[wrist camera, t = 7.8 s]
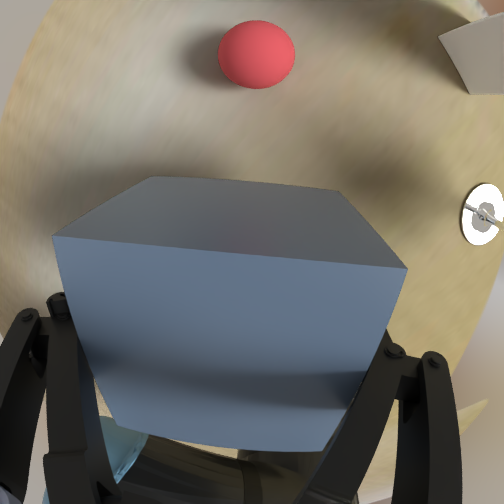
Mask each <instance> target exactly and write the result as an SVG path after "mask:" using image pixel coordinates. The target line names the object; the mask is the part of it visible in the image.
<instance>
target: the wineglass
mask: <svg viewBox="0 0 504 504" xmlns="http://www.w3.org/2000/svg"><path fill="white" fill-rule="evenodd" d="M503 215H504V203H503V198H502V195H501V193H500V191H499V190H498V189H497V188H496V187H495V186H493V185H491V184H487V183H485V184H481V185H478V186H477V187H475V188H474V189H473V190H472V191H471V192H470V194H469V195H468V197H467V199H466V201H465V203H464V206H463V210H462V215H461V226H462V231H463V234H464V236H465V238H466V239H467V240H468V241H469V242H470V243H471V244H473V245H483V244H486V243H487V242H489V241H490V240H491V239H492V238H493V237H494V236H495V235H496V233H497V232H498V230H501V231H503V232H504V222H502V220H503Z"/></svg>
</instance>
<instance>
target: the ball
mask: <svg viewBox="0 0 504 504" xmlns="http://www.w3.org/2000/svg"><path fill="white" fill-rule="evenodd" d="M294 59H295V50H294V46H293V43H292V41H291V39H290V37H289V36H288V35H287V34H286V32H285V31H283V30H282V29H281V28H279V27H278V26H276V25H274V24H272V23H269V22H265V21H247V22H243V23H240V24H238V25H236V26H235V27H233V28H232V29H230V30H229V31H228V32H227V33H226V34H225V35H224V37H223V38H222V40H221V42H220V45H219V49H218V61H219V64H220V67H221V69H222V71H223V72H224V74H225V75H226V76H227V77H228V78H229V79H230V80H231V81H233V82H234V83H236V84H238V85H240V86H243V87H246V88H251V89H262V88H267V87H271V86H273V85H275V84H277V83H279V82H280V81H282V80H283V79H284V78H285V77H286V76H287V75H288V74H289V72H290V71H291V69H292V67H293V64H294Z"/></svg>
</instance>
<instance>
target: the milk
mask: <svg viewBox="0 0 504 504" xmlns="http://www.w3.org/2000/svg"><path fill="white" fill-rule="evenodd" d="M438 38H439V40H440V41H441V43H442V45H443V46H444V48H445V49H446V51H447V53H448V54H449V56H450V58H451V60H452V61H453V63H454V65H455V67H456V68H457V70H458V72H459V74H460V76H461V78H462V80H463V82H464V84H465V86H466V88H467V90H468V92H469V94H470V95H504V12H502V13H499V14H496V15H492V16H489V17H486V18H483V19H480V20H477V21H474V22H471V23H469V24H466V25H463V26H461V27H459V28H456V29H454V30H451V31H449V32H447V33H444V34H442V35H440V36H438Z"/></svg>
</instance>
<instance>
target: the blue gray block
mask: <svg viewBox="0 0 504 504" xmlns="http://www.w3.org/2000/svg"><path fill="white" fill-rule="evenodd" d="M52 239H53V244H54V249H55V254H56V259H57V263H58V268H59V272H60V276H61V280H62V284H63V288H64V292H65V295H66V299H67V302H68V306H69V309H70V313H71V316H72V319H73V322H74V325H75V328H76V331H77V334H78V337H79V340H80V343H81V345H82V348H83V351H84V353H85V356H86V359H87V361H88V364H89V366H90V369H91V371H92V373H93V376H94V378H95V380H96V383H97V385H98V387H99V389H100V392H101V394H102V396H103V398H104V400H105V402H106V404H107V406H108V408H109V410H110V412H111V414H112V416H113V418H114V420H115V422H116V424H117V426H121V427H124V428H128V429H131V430H135V431H139V432H143V433H147V434H151V435H155V436H159V437H164V438H169V439H174V440H179V441H184V442H190V443H196V444H202V445H209V446H216V447H224V448H234V449H244V450H258V451H281V452H313V451H322V450H323V449H324V447H325V446H326V444H327V442H328V441H329V439H330V438H331V436H332V434H333V433H334V431H335V429H336V428H337V426H338V424H339V423H340V421H341V419H342V417H343V416H344V414H345V412H346V410H347V409H348V407H349V405H350V403H351V401H352V399H353V398H354V396H355V394H356V392H357V390H358V388H359V386H360V384H361V382H362V380H363V378H364V376H365V374H366V372H367V370H368V368H369V366H370V364H371V362H372V359H373V357H374V355H375V353H376V351H377V348H378V346H379V344H380V342H381V339H382V337H383V335H384V332H385V330H386V327H387V325H388V323H389V320H390V318H391V315H392V312H393V310H394V307H395V305H396V302H397V299H398V296H399V294H400V291H401V288H402V285H403V282H404V279H405V276H406V273H407V270H408V269H407V267H406V266H405V265H404V264H403V262H402V261H401V260H400V259H399V258H398V256H397V255H396V254H395V253H394V252H393V250H392V249H391V248H390V247H389V246H388V245H387V243H386V242H385V241H384V240H383V239H382V238H381V236H380V235H379V234H378V233H377V232H376V231H375V230H374V229H373V227H372V226H371V225H370V224H369V223H368V222H367V221H366V220H365V219H364V218H363V216H362V215H361V214H360V213H359V212H358V211H357V210H356V209H355V208H354V207H353V206H352V205H351V204H350V203H349V201H348V200H347V199H346V198H345V197H344V196H343V195H342V194H341V193H340V192H339V191H333V190H326V189H318V188H310V187H301V186H292V185H283V184H273V183H263V182H252V181H240V180H226V179H211V178H193V177H169V176H151V177H149V178H147V179H146V180H144V181H142V182H140V183H138V184H136V185H134V186H132V187H131V188H129V189H127V190H125V191H123V192H122V193H120V194H118V195H116V196H115V197H113V198H111V199H109V200H108V201H106V202H104V203H103V204H101V205H99V206H98V207H96V208H94V209H93V210H91V211H89V212H88V213H86V214H84V215H83V216H81V217H80V218H78V219H76V220H75V221H73V222H72V223H70V224H69V225H67V226H66V227H64V228H63V229H61V230H60V231H58V232H57V233H55V234H54V235H52Z"/></svg>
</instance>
